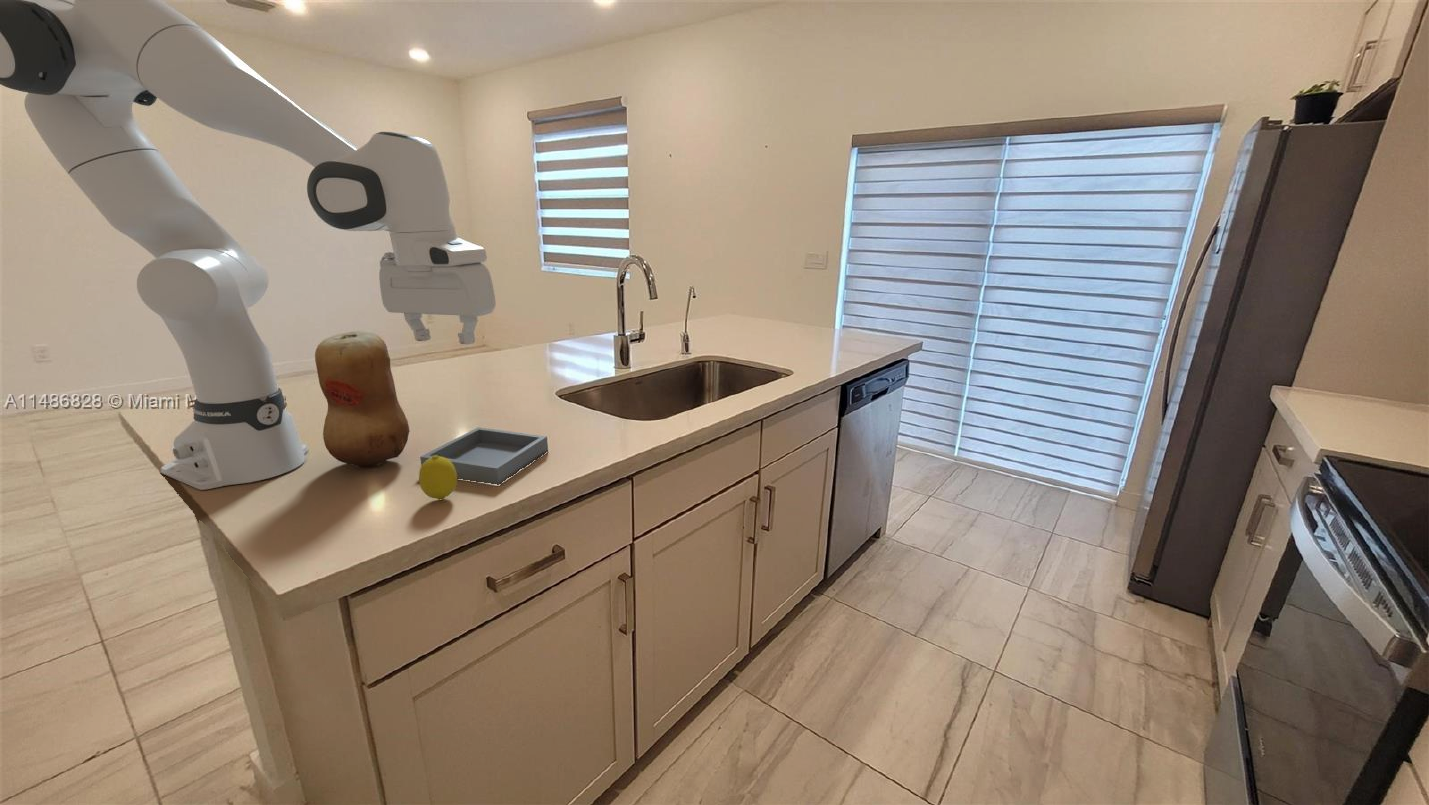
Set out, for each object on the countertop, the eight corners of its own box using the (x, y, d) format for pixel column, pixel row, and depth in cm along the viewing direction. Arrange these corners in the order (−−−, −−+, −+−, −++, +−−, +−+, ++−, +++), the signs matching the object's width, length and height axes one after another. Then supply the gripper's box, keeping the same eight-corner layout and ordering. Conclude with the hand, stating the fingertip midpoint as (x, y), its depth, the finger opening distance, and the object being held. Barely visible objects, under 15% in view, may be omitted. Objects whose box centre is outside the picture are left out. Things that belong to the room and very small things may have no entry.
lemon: (415, 502, 90) (408, 458, 88) (445, 489, 95) (439, 446, 93) (437, 511, 88) (431, 465, 86) (467, 497, 93) (461, 453, 90)
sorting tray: (422, 474, 100) (420, 456, 99) (480, 443, 115) (478, 427, 114) (499, 486, 97) (497, 468, 96) (548, 452, 111) (547, 436, 110)
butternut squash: (313, 479, 97) (282, 340, 90) (354, 450, 110) (331, 325, 102) (394, 479, 98) (371, 341, 91) (426, 449, 111) (408, 326, 103)
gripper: (359, 253, 84) (381, 342, 88) (461, 252, 76) (478, 350, 81) (396, 250, 89) (414, 334, 94) (494, 249, 82) (509, 340, 86)
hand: (445, 342), depth 87 cm, fingers open, 8 cm apart
